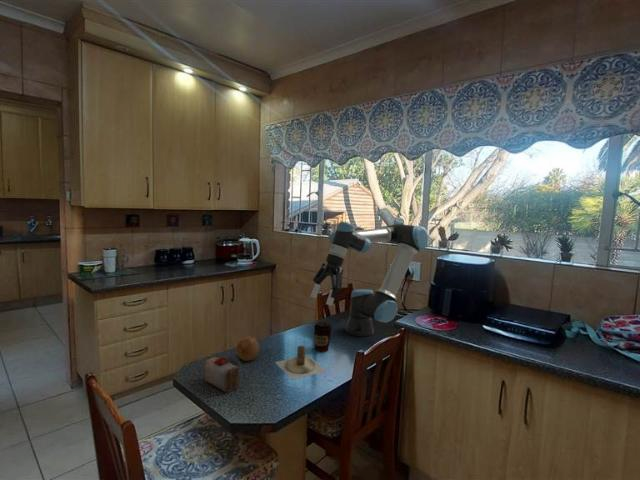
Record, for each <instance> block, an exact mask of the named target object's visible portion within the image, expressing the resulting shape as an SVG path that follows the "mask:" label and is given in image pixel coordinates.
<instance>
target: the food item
mask: <svg viewBox="0 0 640 480" xmlns="http://www.w3.org/2000/svg"><path fill="white" fill-rule="evenodd" d="M203 373H204V380H205V381H204V382H206V383H208V384H210V385H212V386H214V387H216V388H217V389H219V390H221V391H223V392H224V393H226V394H227V393H230V392H232V391H234V390H236V389H238V387H239V386H240V382H239V380H240V367H239V366H237V365H235V364H233V363H231V362H230V361H229V360H228V357H218V356H217V357H211V358H209V359H207V360H205V361H204V372H203Z"/></svg>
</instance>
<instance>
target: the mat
mask: <svg viewBox="0 0 640 480" xmlns="http://www.w3.org/2000/svg"><path fill="white" fill-rule="evenodd" d="M305 358H308V359H311V360H312V361H314V363H315V369H314V370H313V371H312V372H309V373H304V374H298V373H293V372H290V371H289V370H287V368H286V362H287V361H288V360H289V359H290V358H289V359H284V360H283V359H282V360H280V361H279V360H278V361H275V362H274V363H275V365H277V366H278V368H280V369H281V370H282V372H284V373H285V375H286V376H287V377H288V378H289V379H290V380H291V381H292V380H297V379H301V378H305V377H308V376H314V375H317V374H318V375H319V374H321V373H326V372H327V370H326V368H324V367H323V366H322V365H320V364H319V363H318V362H317V361H315V359H313V358H312V357H311V356H309V355H305Z"/></svg>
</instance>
